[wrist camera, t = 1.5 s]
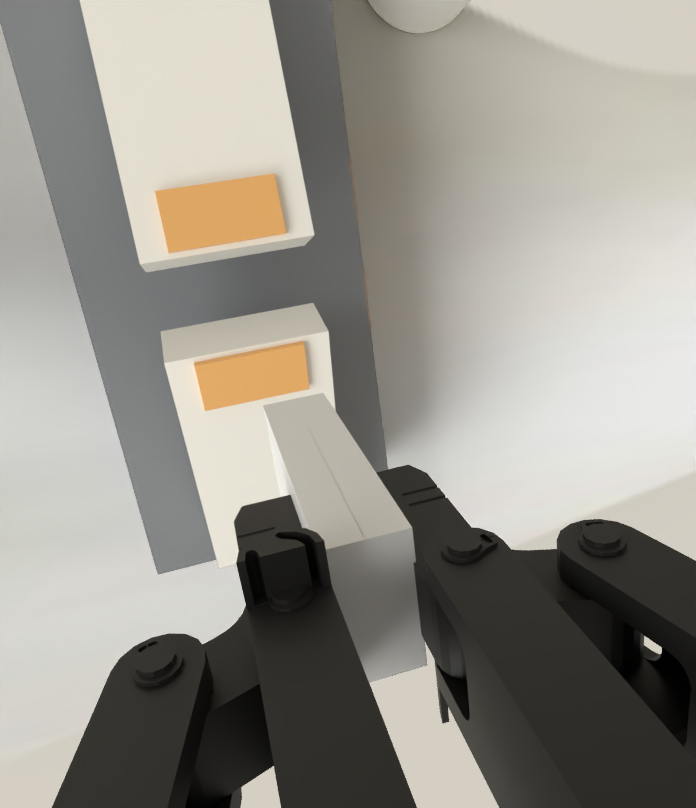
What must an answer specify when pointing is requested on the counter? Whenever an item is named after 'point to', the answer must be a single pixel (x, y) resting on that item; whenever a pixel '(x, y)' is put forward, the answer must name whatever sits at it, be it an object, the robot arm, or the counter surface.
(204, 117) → the plate
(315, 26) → the switch unit
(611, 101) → the counter surface
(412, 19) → the cosmetic bottle
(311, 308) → the rocker
